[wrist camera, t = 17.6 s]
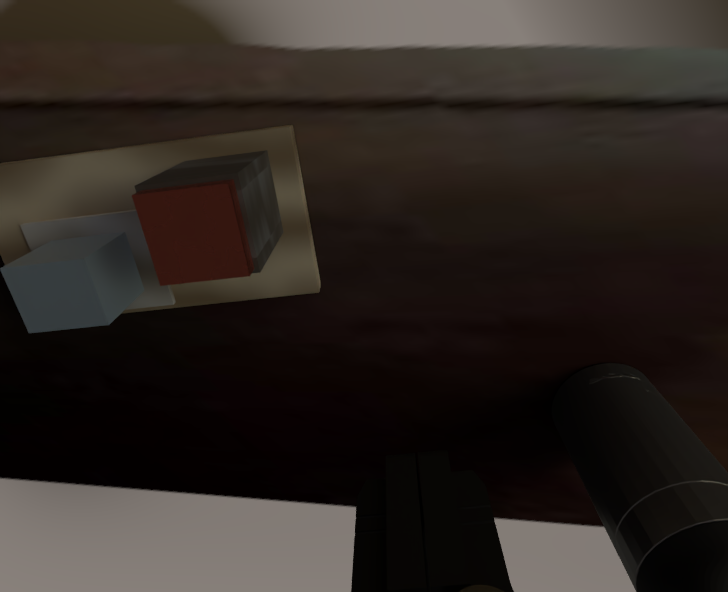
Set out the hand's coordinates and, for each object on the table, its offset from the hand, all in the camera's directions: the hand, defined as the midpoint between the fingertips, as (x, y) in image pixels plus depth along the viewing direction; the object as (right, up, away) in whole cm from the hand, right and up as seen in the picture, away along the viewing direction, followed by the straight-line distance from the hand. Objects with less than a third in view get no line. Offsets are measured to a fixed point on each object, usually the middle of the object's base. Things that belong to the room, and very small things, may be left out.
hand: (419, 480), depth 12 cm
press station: (-18, +10, +29) cm, 36 cm away
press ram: (-11, +11, +24) cm, 28 cm away
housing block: (-23, +7, +28) cm, 37 cm away
